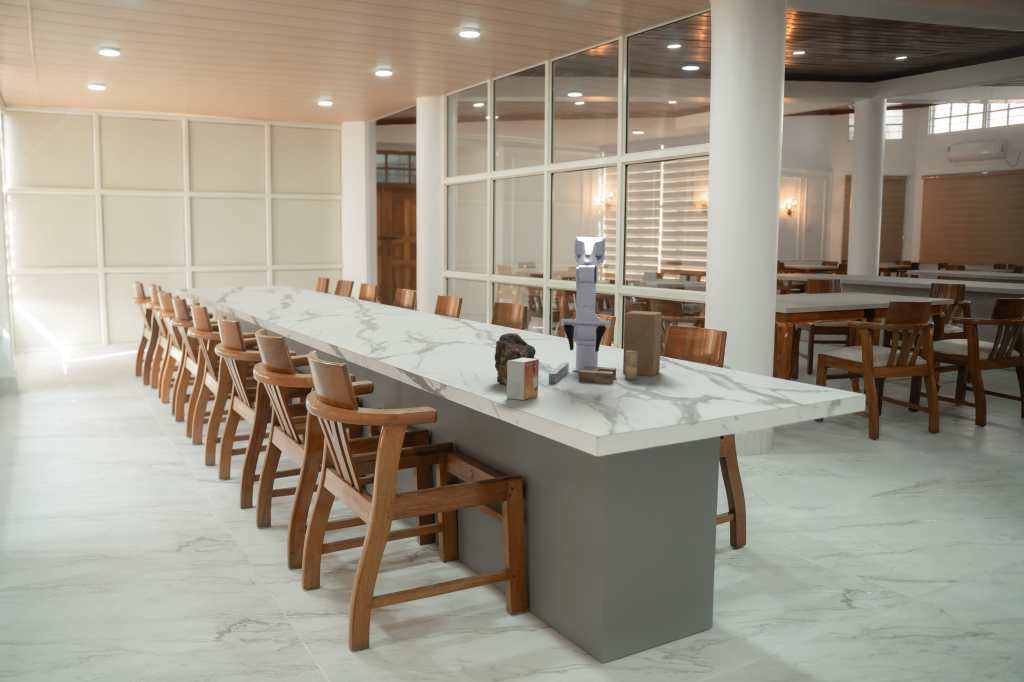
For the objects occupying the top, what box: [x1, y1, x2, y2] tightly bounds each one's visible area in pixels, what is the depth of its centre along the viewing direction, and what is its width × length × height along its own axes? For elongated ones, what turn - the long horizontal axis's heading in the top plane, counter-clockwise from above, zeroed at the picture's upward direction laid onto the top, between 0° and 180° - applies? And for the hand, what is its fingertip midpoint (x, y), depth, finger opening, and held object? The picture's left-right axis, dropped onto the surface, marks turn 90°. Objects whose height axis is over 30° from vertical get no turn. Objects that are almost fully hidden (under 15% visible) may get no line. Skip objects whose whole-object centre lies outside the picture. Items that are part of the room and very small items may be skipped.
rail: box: [548, 362, 570, 385], centre depth 268 cm, size 24×2×3 cm, turn 167°
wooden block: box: [622, 310, 663, 377], centre depth 279 cm, size 10×10×20 cm
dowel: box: [624, 351, 638, 382], centre depth 266 cm, size 4×4×9 cm
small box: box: [506, 358, 540, 401], centre depth 234 cm, size 8×6×10 cm
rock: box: [494, 332, 537, 387], centre depth 257 cm, size 14×13×15 cm
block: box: [578, 366, 617, 384], centre depth 265 cm, size 12×10×3 cm
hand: (584, 350), depth 257 cm, fingers open, 7 cm apart
